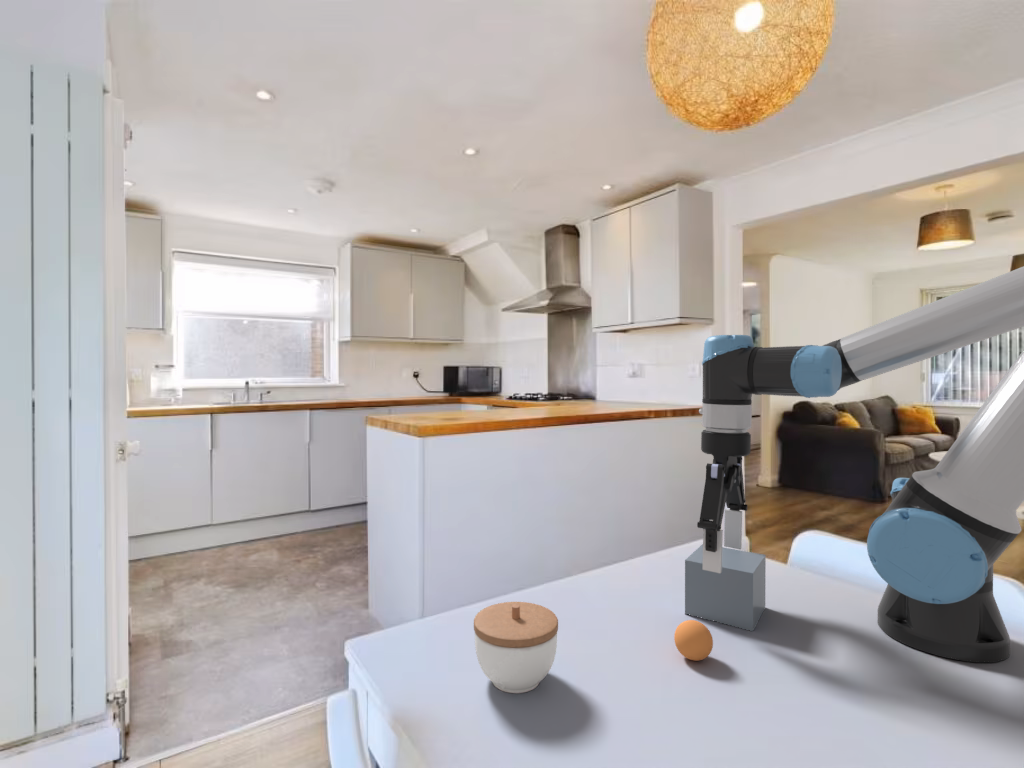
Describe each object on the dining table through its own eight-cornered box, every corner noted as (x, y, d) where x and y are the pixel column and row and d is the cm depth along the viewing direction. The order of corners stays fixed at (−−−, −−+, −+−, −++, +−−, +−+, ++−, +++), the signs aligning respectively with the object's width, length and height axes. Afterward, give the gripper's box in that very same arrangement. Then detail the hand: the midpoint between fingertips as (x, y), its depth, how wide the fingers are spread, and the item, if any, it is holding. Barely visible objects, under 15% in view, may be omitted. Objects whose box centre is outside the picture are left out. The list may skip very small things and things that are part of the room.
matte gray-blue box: (765, 607, 88) (765, 554, 88) (752, 631, 80) (753, 573, 80) (702, 593, 94) (702, 543, 94) (684, 614, 86) (685, 560, 86)
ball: (717, 655, 73) (717, 619, 73) (707, 672, 69) (707, 634, 69) (680, 645, 76) (680, 610, 76) (669, 660, 72) (669, 623, 72)
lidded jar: (561, 705, 62) (561, 626, 62) (469, 705, 62) (469, 625, 62) (555, 657, 73) (555, 589, 72) (477, 656, 73) (477, 588, 73)
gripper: (721, 422, 99) (718, 535, 100) (678, 434, 79) (676, 576, 79) (764, 425, 95) (762, 543, 95) (732, 439, 74) (728, 588, 75)
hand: (723, 558), depth 87 cm, fingers open, 13 cm apart
